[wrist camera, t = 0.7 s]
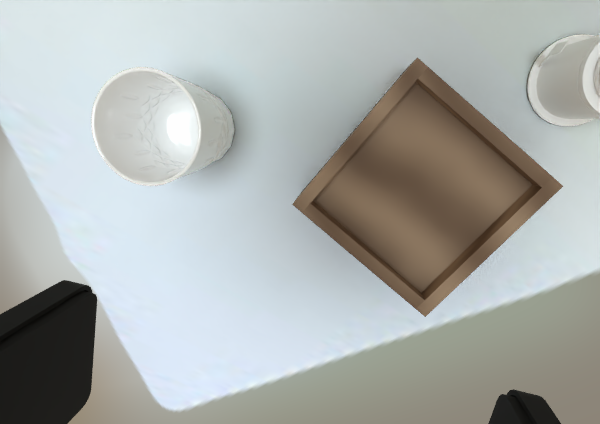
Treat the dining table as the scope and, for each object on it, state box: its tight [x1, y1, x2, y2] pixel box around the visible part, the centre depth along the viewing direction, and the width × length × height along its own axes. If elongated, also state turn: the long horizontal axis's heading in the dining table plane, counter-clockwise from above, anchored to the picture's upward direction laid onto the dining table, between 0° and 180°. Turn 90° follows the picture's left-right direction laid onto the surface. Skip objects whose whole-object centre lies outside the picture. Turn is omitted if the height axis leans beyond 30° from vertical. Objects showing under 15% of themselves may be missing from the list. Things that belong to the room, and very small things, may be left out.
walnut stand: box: [292, 58, 563, 317], centre depth 32 cm, size 14×14×6 cm
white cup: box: [91, 67, 235, 186], centre depth 32 cm, size 8×8×10 cm
